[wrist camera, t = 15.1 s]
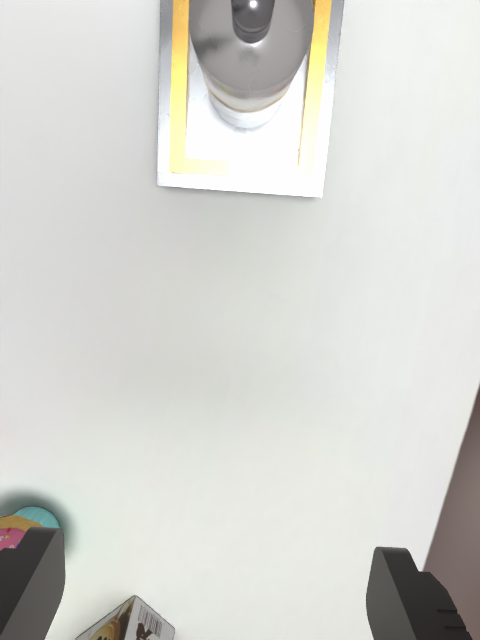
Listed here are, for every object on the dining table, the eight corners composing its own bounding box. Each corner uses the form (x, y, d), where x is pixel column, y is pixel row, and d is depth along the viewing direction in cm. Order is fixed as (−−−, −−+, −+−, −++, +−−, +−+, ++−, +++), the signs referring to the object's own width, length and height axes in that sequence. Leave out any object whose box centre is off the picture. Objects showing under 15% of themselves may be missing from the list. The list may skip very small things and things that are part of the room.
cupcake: (95, 533, 45) (46, 651, 34) (33, 575, 47) (-34, 702, 35) (34, 473, 43) (-40, 577, 32) (-29, 519, 45) (-122, 634, 33)
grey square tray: (163, 185, 36) (154, 185, 32) (168, -22, 32) (158, -51, 28) (315, 196, 36) (324, 197, 32) (337, -8, 33) (351, -36, 28)
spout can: (207, 125, 32) (179, 72, 17) (210, 41, 31) (184, -94, 16) (281, 130, 32) (315, 83, 17) (288, 47, 31) (333, -81, 16)
